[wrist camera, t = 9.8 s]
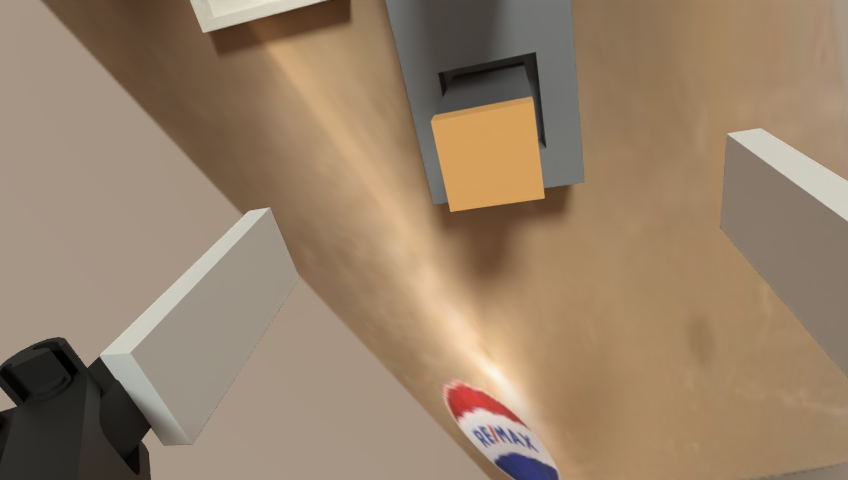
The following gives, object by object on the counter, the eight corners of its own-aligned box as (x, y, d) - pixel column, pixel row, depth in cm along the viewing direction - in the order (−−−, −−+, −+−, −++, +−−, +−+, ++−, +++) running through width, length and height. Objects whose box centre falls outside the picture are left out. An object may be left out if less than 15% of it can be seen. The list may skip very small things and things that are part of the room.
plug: (453, 76, 27) (430, 121, 19) (523, 61, 26) (533, 102, 18) (466, 142, 29) (450, 211, 20) (532, 130, 28) (544, 198, 20)
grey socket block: (359, -185, 24) (335, -212, 20) (541, -250, 22) (549, -294, 18) (440, 180, 33) (433, 204, 29) (575, 159, 31) (584, 182, 27)
